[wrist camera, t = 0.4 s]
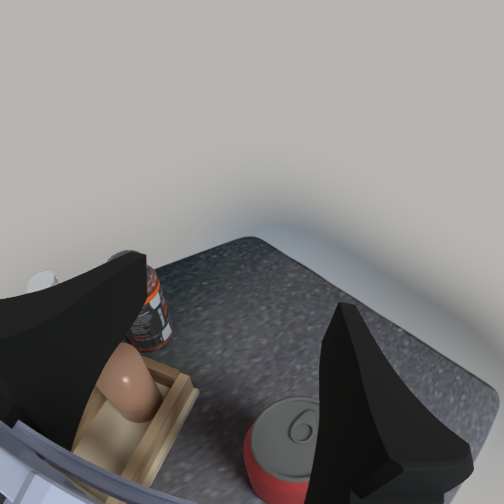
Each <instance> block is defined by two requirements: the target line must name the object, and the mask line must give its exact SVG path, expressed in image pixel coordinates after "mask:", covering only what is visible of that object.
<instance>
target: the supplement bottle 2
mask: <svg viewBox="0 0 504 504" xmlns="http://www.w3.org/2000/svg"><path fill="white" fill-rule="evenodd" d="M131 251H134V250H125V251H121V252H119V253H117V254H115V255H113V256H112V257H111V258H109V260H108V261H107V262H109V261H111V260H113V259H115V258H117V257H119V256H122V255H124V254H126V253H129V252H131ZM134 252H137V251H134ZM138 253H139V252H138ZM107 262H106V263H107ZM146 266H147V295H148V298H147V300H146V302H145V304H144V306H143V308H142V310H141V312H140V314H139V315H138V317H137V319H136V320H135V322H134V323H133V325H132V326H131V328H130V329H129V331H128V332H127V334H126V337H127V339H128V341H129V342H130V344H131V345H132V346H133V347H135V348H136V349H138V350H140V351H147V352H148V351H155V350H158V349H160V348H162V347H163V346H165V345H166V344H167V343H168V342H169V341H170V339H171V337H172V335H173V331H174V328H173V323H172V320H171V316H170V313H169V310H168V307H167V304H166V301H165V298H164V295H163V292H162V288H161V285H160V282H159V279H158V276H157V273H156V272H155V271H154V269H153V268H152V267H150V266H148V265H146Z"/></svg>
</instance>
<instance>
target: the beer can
mask: <svg viewBox="0 0 504 504" xmlns="http://www.w3.org/2000/svg"><path fill="white" fill-rule="evenodd" d="M318 427H319V399H317V398H311V397H306V396H296V397H287V398H284V399H281V400H278V401H276V402H274V403H272V404H271V405H269V406H268V407H267V408H265V409H264V410H263V411H262V412H261V413H260V414H259V416H258V417H257V418H256V419H255V421H254V423H253V424H252V425H251V426H250V428H249V429H248V432H247V435H246V438H245V440H244V443H243V456H244V462H245V465H246V469H247V472H248V476H249V480H250V483H251V485H252V488H253V490H254V492H255V493H256V494H257V495H258V497H259V498H260V499H261V500H263V501H264V502H266V503H268V504H304V501H305V497H306V493H307V489H308V484H309V480H310V475H311V470H312V465H313V460H314V454H315V448H316V441H317V434H318Z"/></svg>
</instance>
